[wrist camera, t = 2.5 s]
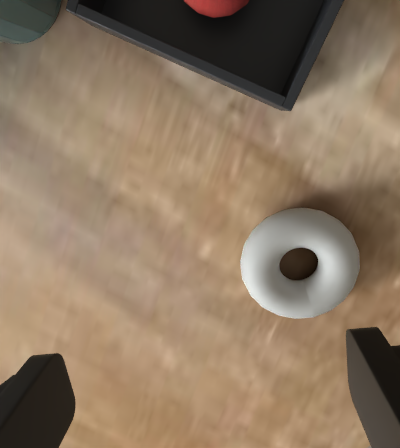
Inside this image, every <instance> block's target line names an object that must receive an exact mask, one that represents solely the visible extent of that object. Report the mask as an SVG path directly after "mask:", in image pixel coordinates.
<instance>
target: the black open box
mask: <svg viewBox="0 0 400 448" xmlns="http://www.w3.org/2000/svg"><path fill="white" fill-rule="evenodd" d="M343 2H344V0H249V2H248V3H247V5H245V6H244V7H242V8H241V9H240V10H238V11H237V12H235V13H234V14H232V15H230V16H223V17H216V18H213V17H209V16H206V15H202V14H199V13H197V12H196V11H195V10H194V9H192V8H191V7H190V6H189V5H187V4H186V3H185V2H184V1H183V0H68V2H67V6H66V10H67V11H69V12H70V13H72V14H74V15H75V16H77V17H79V18H80V19H82V20H84V21H85V22H87V23H89V24H90V25H92V26H94V27H96V28H98V29H101V30H103V31H105V32H107V33H110V34H112V35H114V36H116V37H118V38H121V39H123V40H125V41H127V42H130V43H132V44H134V45H136V46H138V47H141V48H143V49H145V50H147V51H150V52H152V53H154V54H156V55H159V56H161V57H163V58H165V59H167V60H170V61H172V62H174V63H176V64H179V65H181V66H183V67H185V68H187V69H190V70H192V71H194V72H196V73H199V74H201V75H203V76H205V77H207V78H210V79H212V80H214V81H216V82H219V83H221V84H223V85H225V86H228V87H230V88H232V89H234V90H236V91H239V92H241V93H243V94H245V95H248V96H250V97H252V98H254V99H256V100H259V101H261V102H263V103H265V104H268V105H270V106H272V107H274V108H276V109H279V110H281V111H282V110H283V111H291V110H292V108H293V106H294V104H295V102H296V99H297V97H298V95H299V93H300V91H301V89H302V87H303V85H304V83H305V81H306V79H307V77H308V75H309V72H310V70H311V68H312V66H313V64H314V62H315V60H316V58H317V56H318V54H319V52H320V50H321V47H322V45H323V43H324V41H325V39H326V37H327V35H328V33H329V31H330V29H331V27H332V25H333V22H334V20H335V18H336V16H337V14H338V12H339V10H340V8H341V6H342V4H343Z"/></svg>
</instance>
